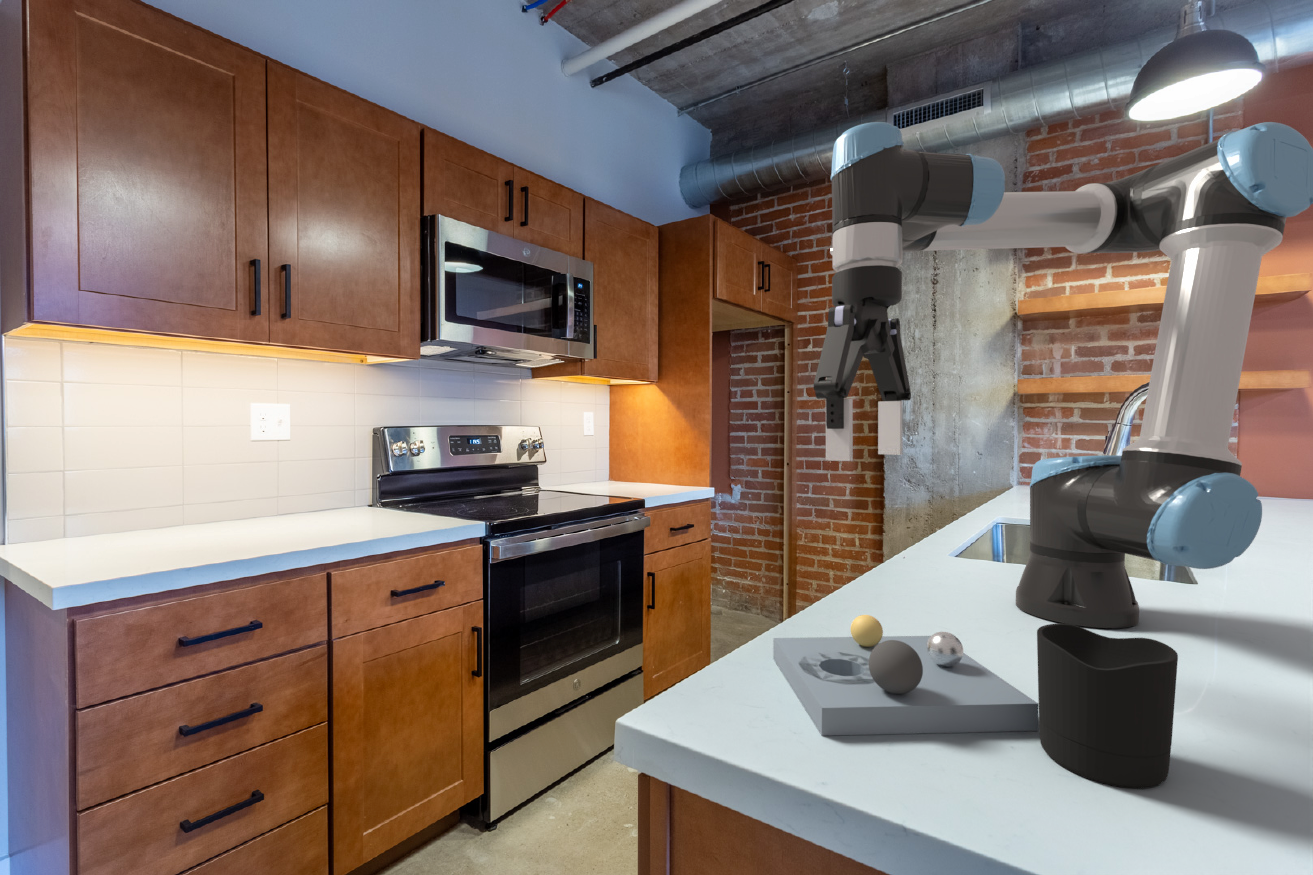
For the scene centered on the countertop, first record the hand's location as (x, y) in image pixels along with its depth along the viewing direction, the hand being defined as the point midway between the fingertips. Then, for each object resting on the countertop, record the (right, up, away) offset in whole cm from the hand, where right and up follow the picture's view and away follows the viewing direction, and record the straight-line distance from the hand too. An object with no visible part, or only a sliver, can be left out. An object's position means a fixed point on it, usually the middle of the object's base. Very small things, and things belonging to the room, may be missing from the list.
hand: (866, 457), depth 71 cm
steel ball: (+6, -20, -6) cm, 22 cm away
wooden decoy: (0, -20, 0) cm, 20 cm away
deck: (0, -24, -6) cm, 25 cm away
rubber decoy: (-1, -19, -12) cm, 23 cm away
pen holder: (+13, -25, -19) cm, 34 cm away
